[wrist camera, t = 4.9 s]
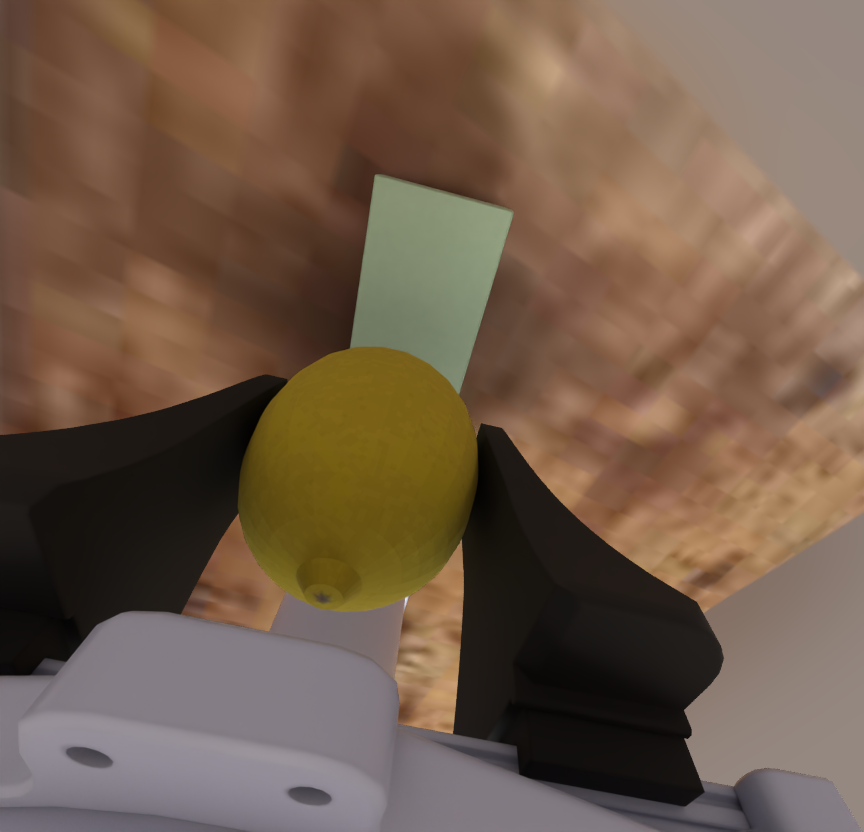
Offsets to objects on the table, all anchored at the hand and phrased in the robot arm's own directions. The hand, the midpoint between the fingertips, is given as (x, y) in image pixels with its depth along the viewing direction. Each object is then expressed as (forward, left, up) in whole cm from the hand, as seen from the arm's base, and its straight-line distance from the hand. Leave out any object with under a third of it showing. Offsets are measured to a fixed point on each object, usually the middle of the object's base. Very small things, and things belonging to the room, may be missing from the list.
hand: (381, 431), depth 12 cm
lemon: (0, 0, -3) cm, 3 cm away
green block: (-1, 0, -9) cm, 9 cm away
